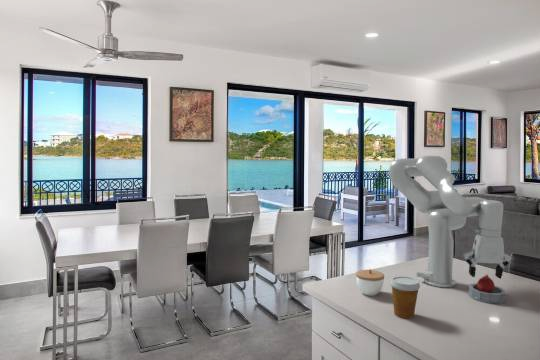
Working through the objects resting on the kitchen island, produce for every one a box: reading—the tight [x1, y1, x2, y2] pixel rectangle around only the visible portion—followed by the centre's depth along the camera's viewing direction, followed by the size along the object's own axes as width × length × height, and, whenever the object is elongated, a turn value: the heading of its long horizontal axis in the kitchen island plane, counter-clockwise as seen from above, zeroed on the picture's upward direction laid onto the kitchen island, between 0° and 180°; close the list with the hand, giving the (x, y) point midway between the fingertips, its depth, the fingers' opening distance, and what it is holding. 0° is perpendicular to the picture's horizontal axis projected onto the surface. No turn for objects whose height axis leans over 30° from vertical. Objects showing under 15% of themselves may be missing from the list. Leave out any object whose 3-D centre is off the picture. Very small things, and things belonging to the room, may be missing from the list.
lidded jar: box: [355, 268, 385, 297], centre depth 155 cm, size 11×11×9 cm
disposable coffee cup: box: [389, 275, 421, 319], centre depth 134 cm, size 10×10×12 cm
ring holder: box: [468, 282, 507, 305], centre depth 151 cm, size 12×12×4 cm
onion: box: [477, 273, 496, 293], centre depth 151 cm, size 6×6×8 cm
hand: (485, 276), depth 151 cm, fingers open, 9 cm apart
